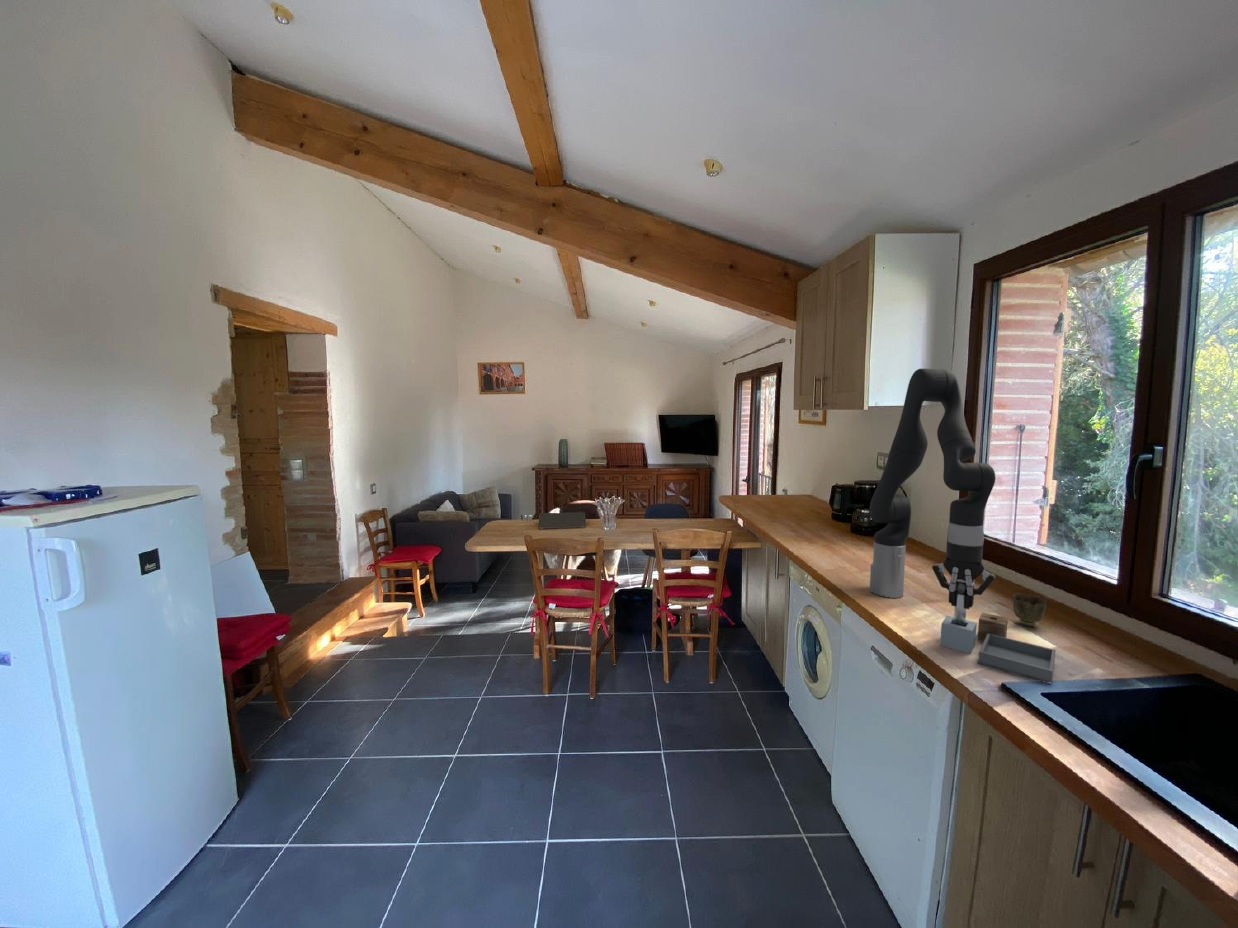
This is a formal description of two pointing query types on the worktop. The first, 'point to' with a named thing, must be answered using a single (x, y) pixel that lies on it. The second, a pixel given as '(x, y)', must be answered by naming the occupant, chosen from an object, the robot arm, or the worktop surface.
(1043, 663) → the tray
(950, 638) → the grey socket cube
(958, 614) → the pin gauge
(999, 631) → the walnut block
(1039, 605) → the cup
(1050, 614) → the worktop surface
